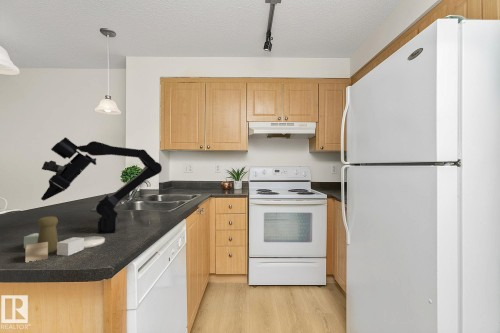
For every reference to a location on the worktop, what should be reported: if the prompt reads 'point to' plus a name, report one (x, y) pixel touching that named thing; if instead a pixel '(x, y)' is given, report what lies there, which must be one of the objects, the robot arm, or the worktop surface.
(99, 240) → the cream plate
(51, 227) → the cork
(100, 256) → the worktop surface
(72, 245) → the grey block
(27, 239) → the sage block
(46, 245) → the beech block
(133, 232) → the worktop surface
